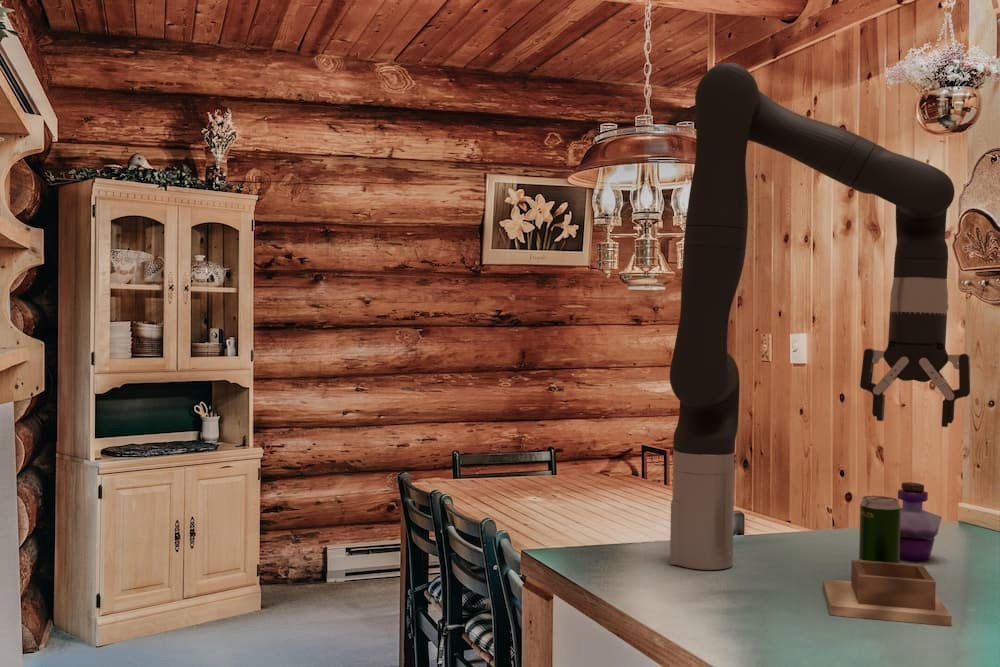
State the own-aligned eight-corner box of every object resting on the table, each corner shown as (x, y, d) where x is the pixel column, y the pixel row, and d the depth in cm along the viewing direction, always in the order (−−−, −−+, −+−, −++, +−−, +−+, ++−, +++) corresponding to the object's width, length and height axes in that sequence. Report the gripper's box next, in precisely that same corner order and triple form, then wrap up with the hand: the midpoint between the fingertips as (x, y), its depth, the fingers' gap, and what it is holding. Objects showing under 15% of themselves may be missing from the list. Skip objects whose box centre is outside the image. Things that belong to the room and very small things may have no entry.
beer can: (884, 589, 130) (885, 503, 130) (850, 580, 134) (852, 497, 134) (907, 584, 133) (908, 500, 132) (873, 575, 137) (875, 494, 137)
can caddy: (830, 615, 118) (831, 578, 118) (822, 587, 130) (823, 554, 130) (951, 625, 114) (952, 587, 114) (931, 596, 126) (932, 562, 126)
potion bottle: (870, 555, 149) (872, 480, 149) (904, 549, 154) (906, 476, 154) (918, 567, 142) (920, 489, 142) (953, 561, 146) (954, 485, 146)
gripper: (861, 308, 133) (855, 420, 134) (972, 311, 126) (965, 431, 126) (869, 309, 140) (863, 417, 140) (975, 313, 133) (969, 426, 133)
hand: (912, 423), depth 133 cm, fingers open, 8 cm apart
